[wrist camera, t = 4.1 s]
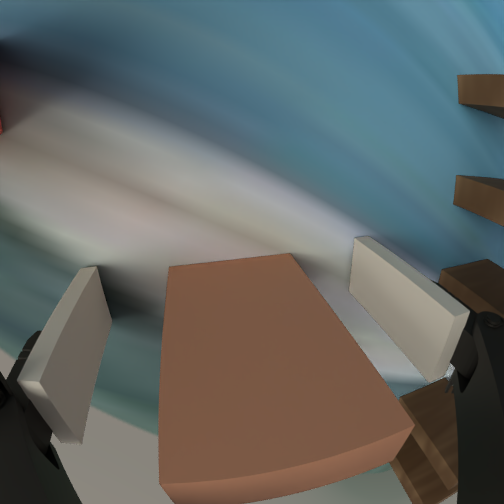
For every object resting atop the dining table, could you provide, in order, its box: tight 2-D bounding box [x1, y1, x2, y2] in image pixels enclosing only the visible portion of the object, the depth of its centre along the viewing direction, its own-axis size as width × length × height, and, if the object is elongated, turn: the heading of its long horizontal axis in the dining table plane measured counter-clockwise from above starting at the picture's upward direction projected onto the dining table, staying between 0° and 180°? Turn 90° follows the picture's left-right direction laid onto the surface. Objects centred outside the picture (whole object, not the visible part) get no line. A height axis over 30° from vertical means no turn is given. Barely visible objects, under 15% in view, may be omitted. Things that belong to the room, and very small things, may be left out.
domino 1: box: [159, 253, 415, 504], centre depth 9 cm, size 2×5×9 cm, turn 92°
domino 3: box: [389, 433, 458, 504], centre depth 18 cm, size 2×5×9 cm, turn 92°
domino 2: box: [399, 378, 458, 491], centre depth 16 cm, size 2×5×9 cm, turn 92°
